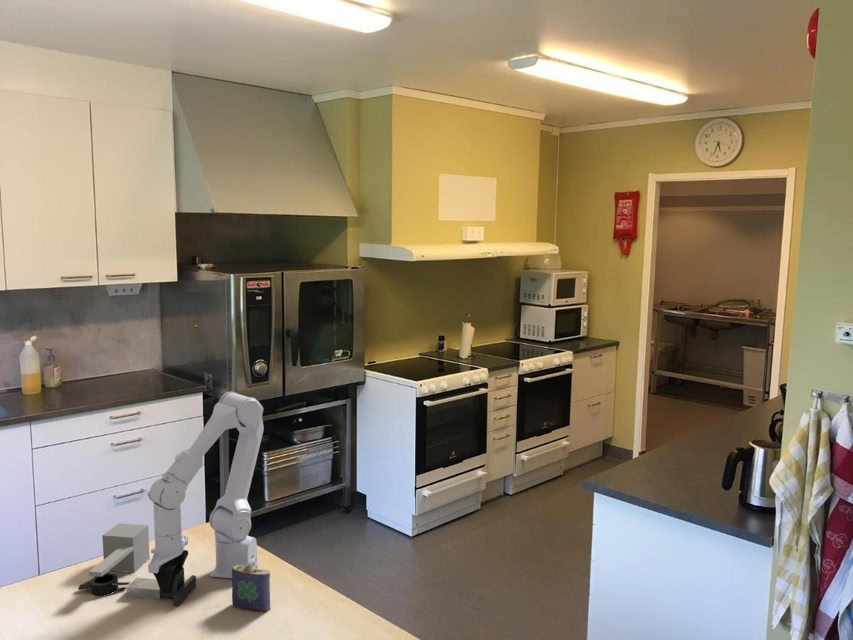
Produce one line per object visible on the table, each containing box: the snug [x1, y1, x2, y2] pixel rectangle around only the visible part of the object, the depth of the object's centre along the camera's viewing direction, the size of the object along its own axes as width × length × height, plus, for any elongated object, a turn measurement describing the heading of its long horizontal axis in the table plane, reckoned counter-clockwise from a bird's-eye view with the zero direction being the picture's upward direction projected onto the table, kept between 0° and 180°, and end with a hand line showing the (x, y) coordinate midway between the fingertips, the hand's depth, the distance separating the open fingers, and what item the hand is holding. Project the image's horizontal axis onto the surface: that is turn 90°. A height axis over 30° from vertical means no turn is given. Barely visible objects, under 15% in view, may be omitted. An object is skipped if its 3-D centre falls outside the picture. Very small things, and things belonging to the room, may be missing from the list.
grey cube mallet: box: [88, 523, 151, 577], centre depth 165 cm, size 8×20×9 cm, turn 172°
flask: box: [231, 561, 271, 613], centre depth 153 cm, size 9×3×11 cm, turn 74°
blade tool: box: [126, 567, 197, 608], centre depth 158 cm, size 14×9×6 cm, turn 83°
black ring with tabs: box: [77, 572, 131, 597], centre depth 160 cm, size 8×10×3 cm
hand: (170, 587), depth 158 cm, fingers closed on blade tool, 3 cm apart
